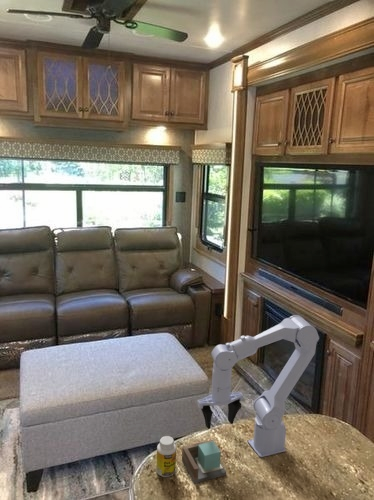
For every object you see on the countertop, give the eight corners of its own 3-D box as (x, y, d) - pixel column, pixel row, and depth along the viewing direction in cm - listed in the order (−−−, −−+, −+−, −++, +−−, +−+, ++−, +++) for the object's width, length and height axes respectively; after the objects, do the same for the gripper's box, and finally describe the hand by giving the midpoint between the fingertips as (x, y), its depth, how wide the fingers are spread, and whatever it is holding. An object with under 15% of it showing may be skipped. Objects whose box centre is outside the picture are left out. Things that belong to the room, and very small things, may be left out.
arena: (212, 452, 130) (212, 439, 129) (226, 475, 121) (226, 461, 120) (181, 459, 126) (182, 446, 125) (194, 483, 117) (194, 469, 116)
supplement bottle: (162, 481, 118) (163, 449, 116) (153, 468, 122) (153, 438, 120) (179, 473, 121) (180, 442, 119) (169, 461, 125) (170, 431, 123)
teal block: (212, 455, 127) (213, 441, 126) (219, 466, 122) (220, 451, 121) (197, 459, 125) (198, 444, 124) (204, 470, 120) (204, 455, 119)
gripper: (236, 374, 132) (234, 412, 135) (194, 381, 127) (192, 421, 130) (247, 385, 125) (244, 425, 128) (203, 393, 120) (201, 435, 123)
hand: (219, 424), depth 129 cm, fingers open, 7 cm apart
